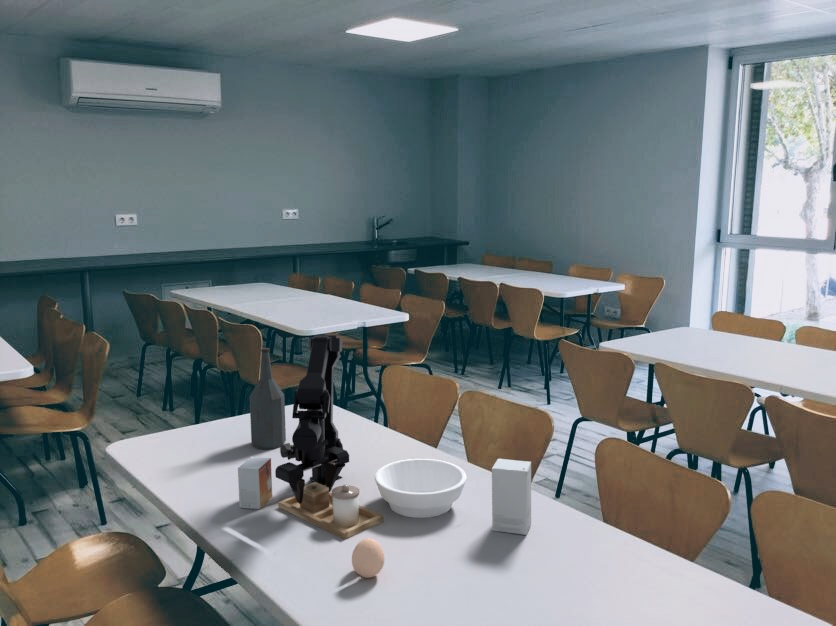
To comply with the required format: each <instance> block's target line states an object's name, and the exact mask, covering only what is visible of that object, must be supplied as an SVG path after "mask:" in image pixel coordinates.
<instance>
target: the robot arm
mask: <svg viewBox="0 0 836 626" xmlns="http://www.w3.org/2000/svg"><path fill="white" fill-rule="evenodd" d="M307 345H308V348H307V349H308V350H307V351H308V352H310V353H309V359H308V364H307V370H306V374H305V376H304V377H303V378H302V379H301V380H299V382H298V386H297V389H296V390H294V398H293V405H292V406H293V407H292V417H291V418H292V419H298V425H297V427H296V428H295V430H294V431H293V433H292V436H291V437H292V439H291V440H292V444H291V443H290V442H288V443H284V444H283V445H280V447H279V453H280V456H281V458H283V459H284V458H287V460H289V462H286V463H282V464H280V465H278V466H277V467H276V468H275V478H277V479H278V480H281V481H283V482H286V483H288V484H289V486H290V488H291V490H292V492H293V494H294V495H293V496H295V497H296V500H297V502H298V503H299V504H301V503H302V500H303V492H304V486H305V485H306V480H305V479H304V478H303V477H304V475H305V473H304V472H307V471H309V470H311V476H310V477H309V480H310V481H312V482H313V483H314V482H317V483H319V484H322V485H324V486H326V487H329V493H331V492H332V490H333V487H334V484H336V481H339V480H341V479H343V476H341V475H340V473H341V472H342V470H343V468H345V467H346V464H347V463H350V453H349V452H348V450H345V449H344V445H343V443H342V440H341V438H339V430H338V429H337V428H336V425H335V424H334V421H333V419H334V417H333V416H334V415H333V414H334V412H333V411H334V379H335V378H334V377H335V376H334V375H335V373H334V371H335V366H336V365H337V363H338V362H339V360H340V357H341V353H342V352H343V339H342V338H341V337H339V336H338V334H314V335H313V337H312V336H311V337H308V344H307ZM298 408H299V410H298ZM291 459H295V461H296V462H301V463H300V464H296V463H293V462H290V460H291Z"/></svg>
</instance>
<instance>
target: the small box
mask: <svg viewBox="0 0 836 626" xmlns="http://www.w3.org/2000/svg"><path fill="white" fill-rule="evenodd" d="M237 479H238V481H237V482H238V497H239V498H238V499H239V500H238V502H239V508H240V509H241V508H242V509H251V510H261V509H262V508H263V507H264V505H266V504H267V503H268V501H270V500H271V499H272V498H273V483H272V482H273V479H272V458H270V457H262V456H250V457H249V458H248V459H247V460H245V462H243V463H242V464H241V465H240V466H239V467H237Z"/></svg>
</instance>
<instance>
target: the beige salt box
mask: <svg viewBox="0 0 836 626" xmlns="http://www.w3.org/2000/svg"><path fill="white" fill-rule="evenodd" d="M329 493H330V492H329V487H326V485H322V484H319V483H317V482H314V481H313V482H312V483H309V484H305V485H304V492H303V500H302V503H301V504H300V507H301V508H303V509H305V510H307V511H309V512H311V513H315V512H318V511H320V510H323V509H325V508H327V507H329Z"/></svg>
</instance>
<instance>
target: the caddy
mask: <svg viewBox="0 0 836 626" xmlns="http://www.w3.org/2000/svg"><path fill="white" fill-rule="evenodd" d="M278 508H279V509H281V510H283V511H284V512H287V513H289V514H291V515H294V516H295V517H298V518H300V519H301V520H304V521H305V522H307V523H309V524H311V525H314V526H316V527H317V528H318V527H319V528H320V529H323V530H324V531H327V532H328V533H331V534H333V535H335V536H337V537H339V538H341V539H342V540H347V539H348V538H351V537H353V536H355V535H358V534H359V533H362V532H363V531H366V530H369V529H370V528H373V527H375V526H377V525H378V524H380V523H382V522H384V515H383V514H380V513H378V512H375V511H374V510H371V509H369V508H366V507H364V506H362V505H360V504H359V522H358V524H357V525H355V526H352V527H338V526H336V525H334V524H333V496H332V492H329V507H327V508H325V509H323V510H320V511H318V512H315V513H311V512H309V511H307V510H305V509H303V508H301V507H300V504H299V503H298V502H297V500H296V497H295V495H293V496H291V497H288V498H285V499H282V500H280V501H278Z"/></svg>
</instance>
